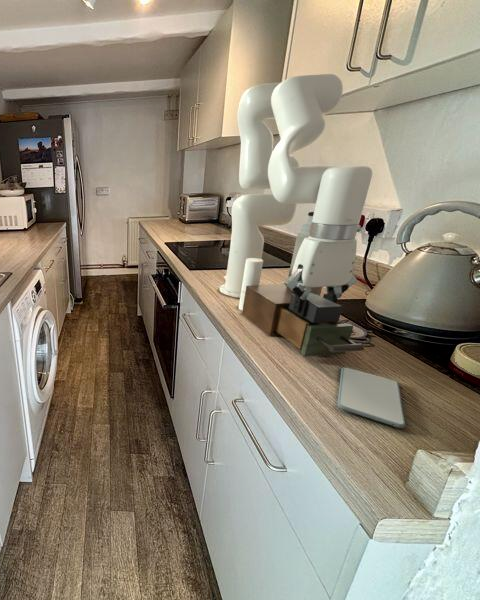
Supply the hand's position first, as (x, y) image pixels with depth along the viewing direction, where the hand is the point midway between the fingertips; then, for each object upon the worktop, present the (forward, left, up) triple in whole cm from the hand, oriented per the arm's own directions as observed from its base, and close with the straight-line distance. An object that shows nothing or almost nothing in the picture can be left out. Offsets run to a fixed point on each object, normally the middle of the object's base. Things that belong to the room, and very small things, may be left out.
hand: (312, 312), depth 71 cm
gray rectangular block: (0, 0, 0) cm, 0 cm away
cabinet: (-12, 0, -8) cm, 15 cm away
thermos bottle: (-17, +10, -8) cm, 22 cm away
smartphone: (+18, -1, -8) cm, 20 cm away
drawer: (+2, 0, -7) cm, 8 cm away
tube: (-22, -2, -8) cm, 24 cm away
